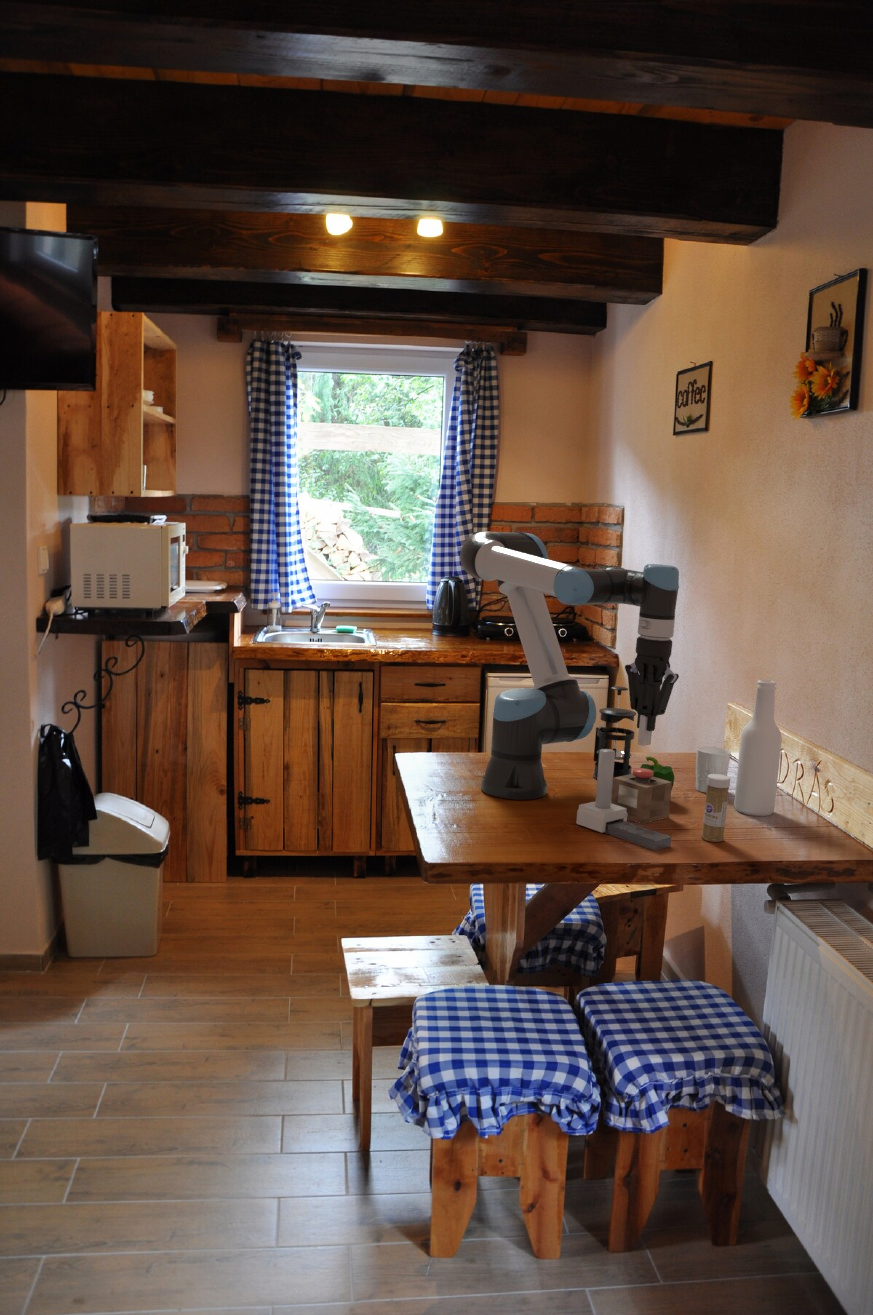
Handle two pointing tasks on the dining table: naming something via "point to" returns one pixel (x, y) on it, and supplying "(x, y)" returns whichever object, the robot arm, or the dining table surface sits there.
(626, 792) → the button box
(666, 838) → the rail
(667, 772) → the bell pepper
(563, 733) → the robot arm
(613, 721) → the french press
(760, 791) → the alcohol
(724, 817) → the sprinkles bottle
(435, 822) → the dining table surface
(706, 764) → the white cup
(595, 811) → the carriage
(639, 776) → the red button
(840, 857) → the dining table surface
